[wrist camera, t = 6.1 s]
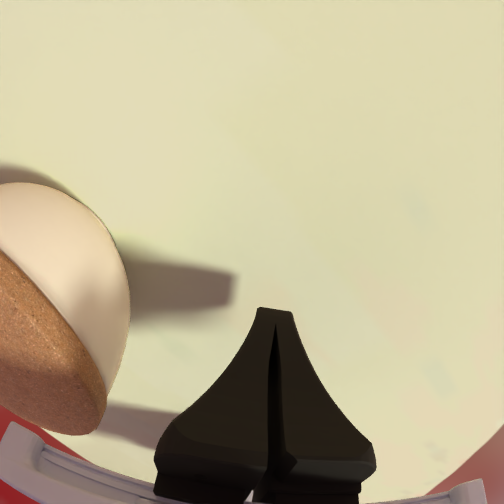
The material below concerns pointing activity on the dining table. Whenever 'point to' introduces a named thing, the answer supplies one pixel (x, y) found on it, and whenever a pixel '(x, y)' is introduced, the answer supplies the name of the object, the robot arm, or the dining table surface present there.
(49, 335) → the lidded jar
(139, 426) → the dining table surface
